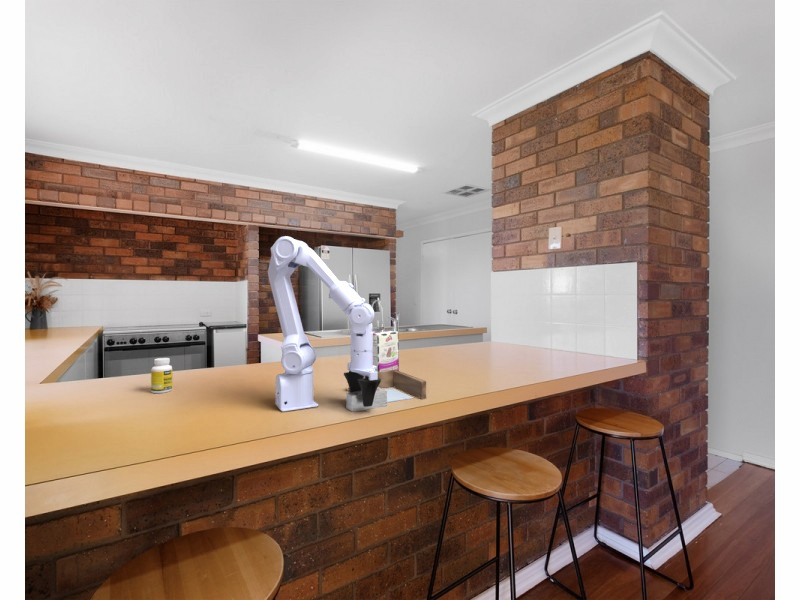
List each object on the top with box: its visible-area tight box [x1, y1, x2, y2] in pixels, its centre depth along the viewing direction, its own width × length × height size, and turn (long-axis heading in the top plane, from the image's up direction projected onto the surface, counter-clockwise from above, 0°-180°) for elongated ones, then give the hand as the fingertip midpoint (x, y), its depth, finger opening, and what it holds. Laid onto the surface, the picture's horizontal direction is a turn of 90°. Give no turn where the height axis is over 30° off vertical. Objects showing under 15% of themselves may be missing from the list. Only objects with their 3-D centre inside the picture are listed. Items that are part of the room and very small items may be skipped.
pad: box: [384, 387, 414, 403], centre depth 112 cm, size 9×12×1 cm
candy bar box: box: [373, 330, 400, 372], centre depth 132 cm, size 11×5×16 cm, turn 143°
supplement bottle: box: [150, 357, 173, 394], centre depth 116 cm, size 5×5×10 cm
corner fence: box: [348, 370, 427, 400], centre depth 113 cm, size 16×18×5 cm
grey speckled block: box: [345, 387, 388, 413], centre depth 103 cm, size 10×8×4 cm
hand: (361, 402), depth 100 cm, fingers open, 7 cm apart
